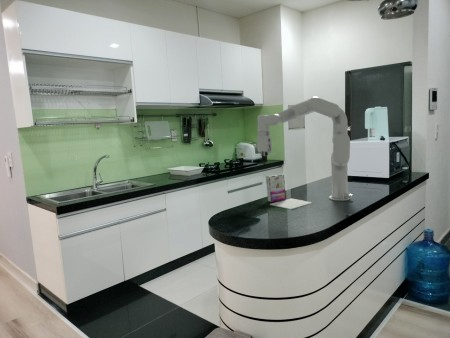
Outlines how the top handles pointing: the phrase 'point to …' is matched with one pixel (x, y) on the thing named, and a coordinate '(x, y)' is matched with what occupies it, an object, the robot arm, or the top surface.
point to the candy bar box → (275, 188)
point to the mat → (291, 203)
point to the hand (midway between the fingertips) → (264, 161)
